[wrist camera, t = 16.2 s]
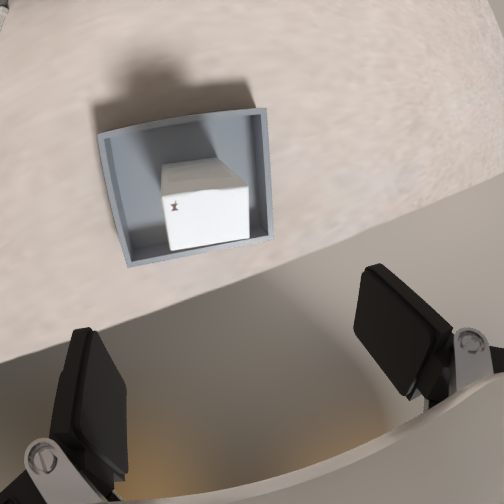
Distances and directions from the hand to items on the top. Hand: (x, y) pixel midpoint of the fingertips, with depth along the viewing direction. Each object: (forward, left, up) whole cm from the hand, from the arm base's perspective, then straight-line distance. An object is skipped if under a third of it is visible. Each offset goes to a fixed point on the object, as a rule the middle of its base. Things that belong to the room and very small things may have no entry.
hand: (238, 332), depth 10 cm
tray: (0, +1, -24) cm, 24 cm away
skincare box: (0, +1, -24) cm, 24 cm away
